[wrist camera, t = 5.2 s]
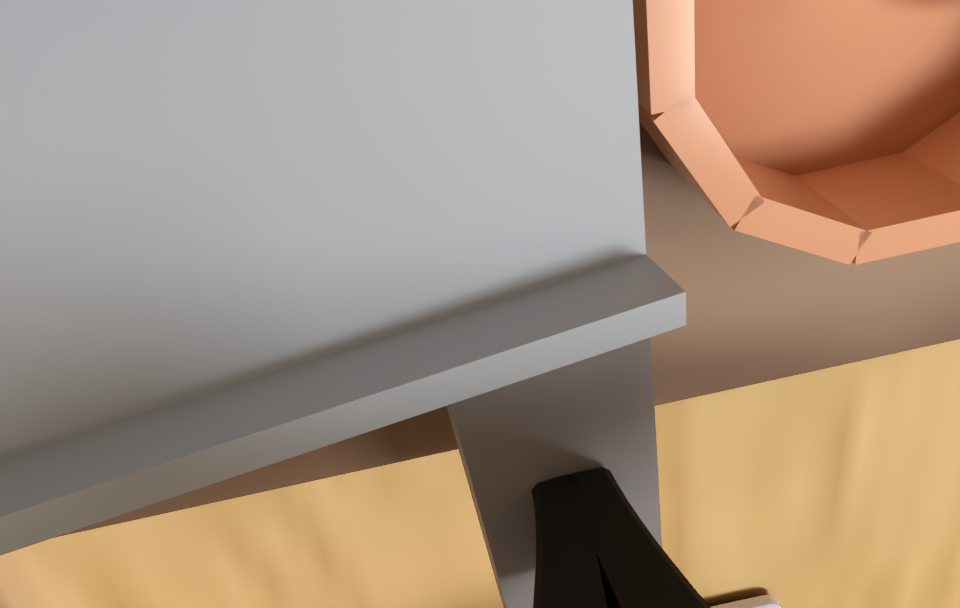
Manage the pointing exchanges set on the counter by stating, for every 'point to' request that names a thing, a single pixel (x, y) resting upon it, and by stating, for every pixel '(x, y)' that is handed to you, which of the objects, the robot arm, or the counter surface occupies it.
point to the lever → (321, 249)
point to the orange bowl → (810, 117)
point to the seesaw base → (695, 327)
